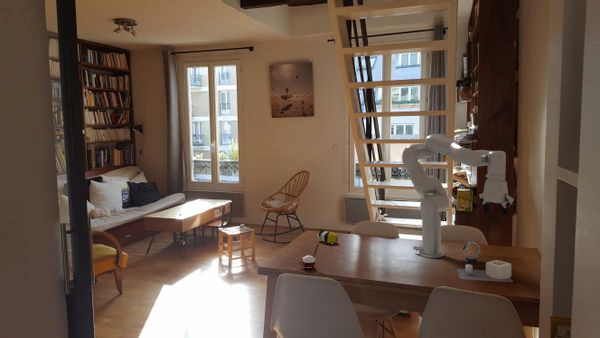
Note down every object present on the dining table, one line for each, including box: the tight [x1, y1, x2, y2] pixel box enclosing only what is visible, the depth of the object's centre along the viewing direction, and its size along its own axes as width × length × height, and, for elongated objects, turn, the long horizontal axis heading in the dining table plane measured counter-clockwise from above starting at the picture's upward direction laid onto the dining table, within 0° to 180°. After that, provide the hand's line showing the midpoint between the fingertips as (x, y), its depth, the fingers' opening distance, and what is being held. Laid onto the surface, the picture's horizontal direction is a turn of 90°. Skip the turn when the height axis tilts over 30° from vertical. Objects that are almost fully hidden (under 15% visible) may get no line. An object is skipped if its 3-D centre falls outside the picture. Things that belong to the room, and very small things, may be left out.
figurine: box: [316, 228, 339, 244], centre depth 254 cm, size 8×15×8 cm, turn 43°
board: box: [456, 263, 514, 283], centre depth 186 cm, size 21×14×6 cm, turn 74°
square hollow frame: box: [485, 259, 512, 279], centre depth 184 cm, size 7×7×6 cm
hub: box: [487, 261, 511, 280], centre depth 184 cm, size 9×9×6 cm
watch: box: [461, 241, 481, 264], centre depth 205 cm, size 6×8×11 cm
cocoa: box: [299, 243, 319, 268], centre depth 206 cm, size 10×6×12 cm, turn 70°
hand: (495, 214), depth 196 cm, fingers open, 9 cm apart
